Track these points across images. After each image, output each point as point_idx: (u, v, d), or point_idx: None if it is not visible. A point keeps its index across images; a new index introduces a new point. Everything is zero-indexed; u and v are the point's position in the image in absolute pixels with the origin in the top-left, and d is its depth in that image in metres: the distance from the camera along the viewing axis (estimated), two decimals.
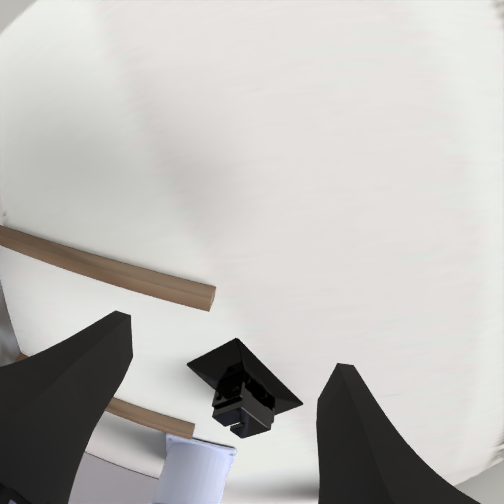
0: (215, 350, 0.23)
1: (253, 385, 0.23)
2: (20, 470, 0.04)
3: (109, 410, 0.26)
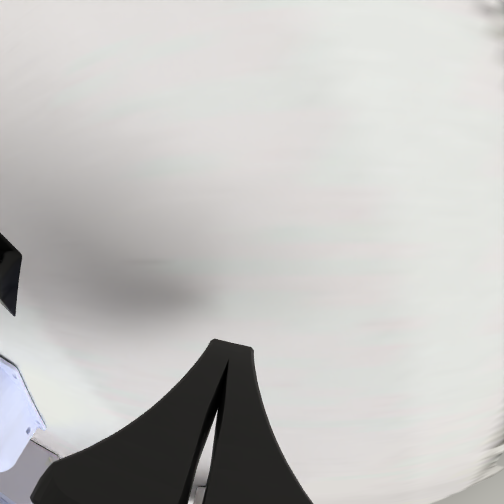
0: None
1: None
2: None
3: None
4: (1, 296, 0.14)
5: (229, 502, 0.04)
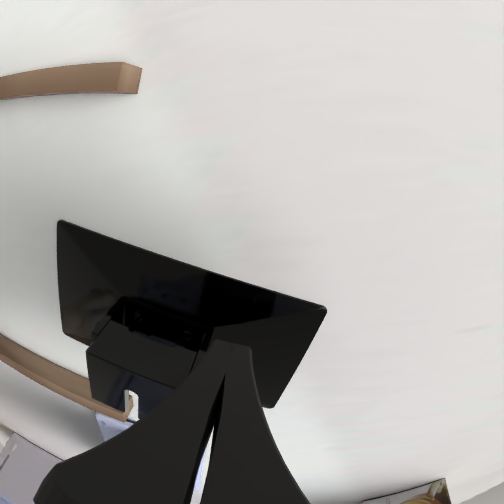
0: (78, 287, 0.13)
1: (153, 318, 0.12)
2: None
3: (13, 365, 0.15)
4: None
5: (226, 501, 0.04)
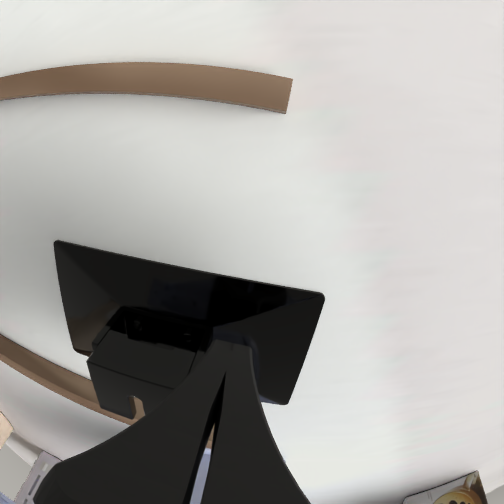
0: (81, 303, 0.13)
1: (153, 324, 0.12)
2: None
3: (72, 397, 0.15)
4: None
5: (226, 501, 0.04)
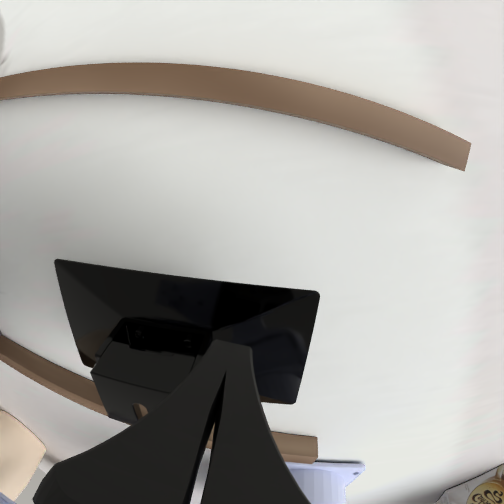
0: (85, 318, 0.13)
1: (154, 333, 0.12)
2: None
3: None
4: None
5: (227, 501, 0.04)
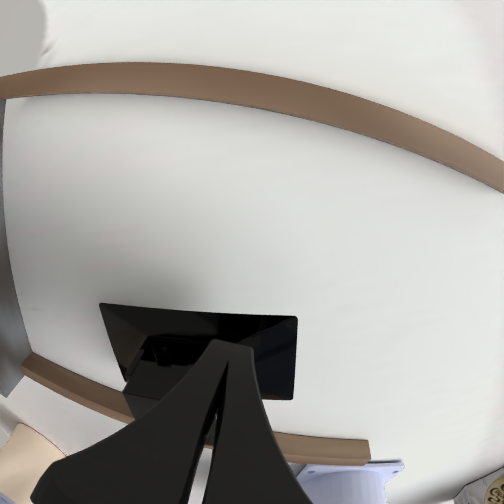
0: (110, 338, 0.14)
1: (180, 349, 0.13)
2: None
3: None
4: (269, 390, 0.14)
5: (229, 502, 0.04)
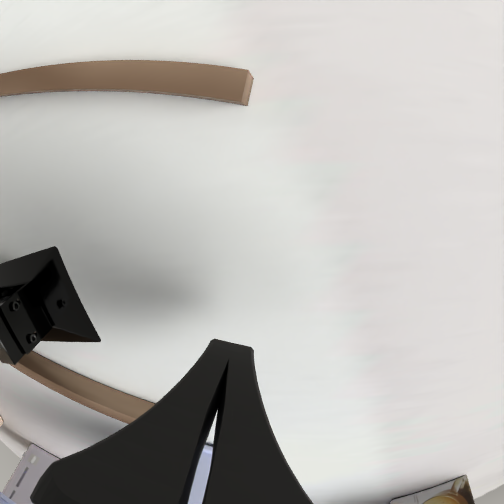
0: None
1: (9, 292, 0.13)
2: None
3: (53, 386, 0.15)
4: (75, 329, 0.14)
5: (229, 502, 0.04)
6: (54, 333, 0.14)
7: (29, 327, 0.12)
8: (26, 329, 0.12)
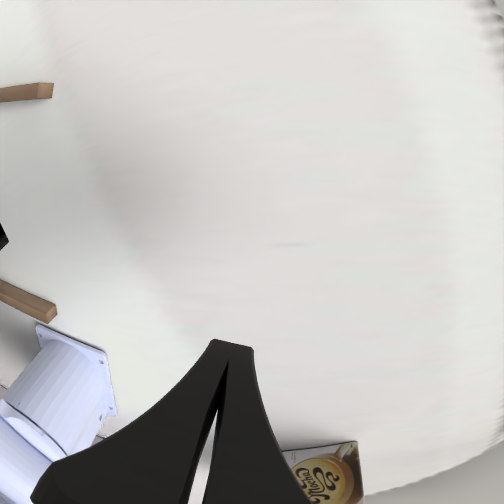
0: None
1: None
2: None
3: None
4: None
5: (229, 502, 0.04)
6: None
7: None
8: None
